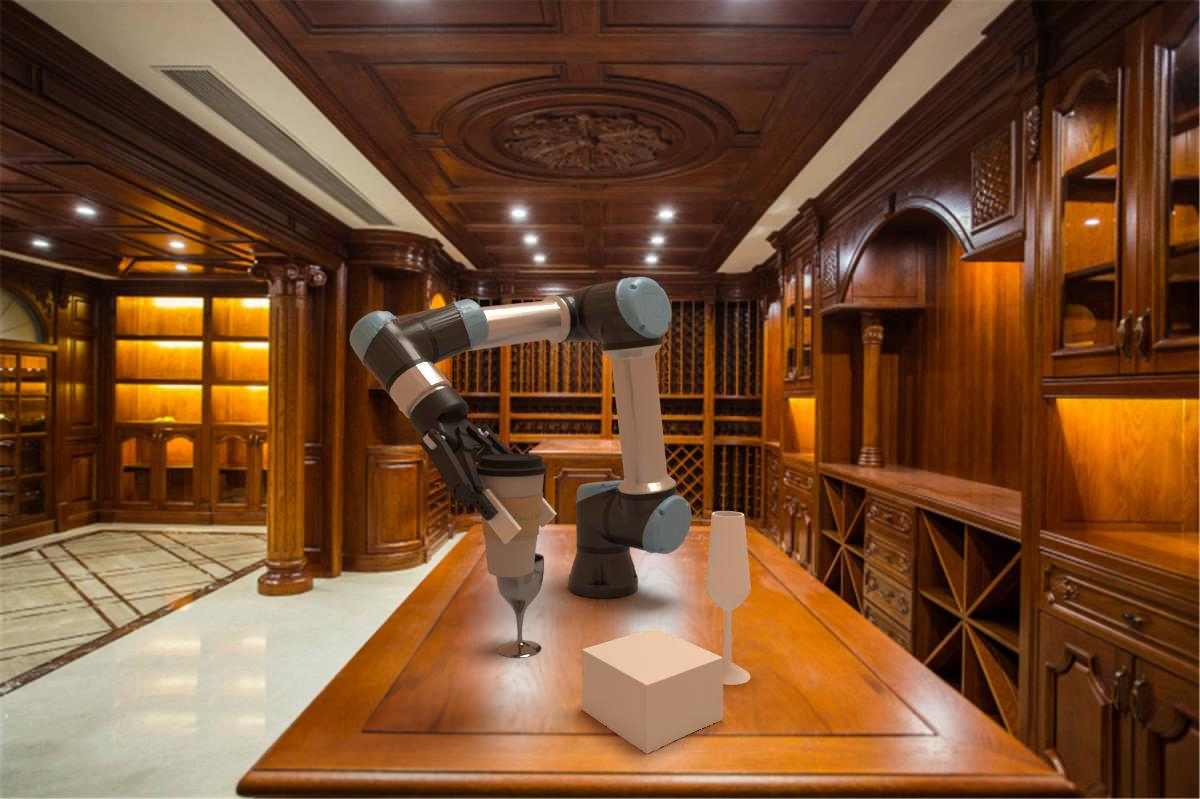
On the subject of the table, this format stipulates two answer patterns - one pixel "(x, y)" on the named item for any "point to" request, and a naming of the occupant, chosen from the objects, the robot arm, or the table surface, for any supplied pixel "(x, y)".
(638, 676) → the riser
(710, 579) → the champagne flute
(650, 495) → the robot arm
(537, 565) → the wine glass
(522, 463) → the coffee cup
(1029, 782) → the table surface
